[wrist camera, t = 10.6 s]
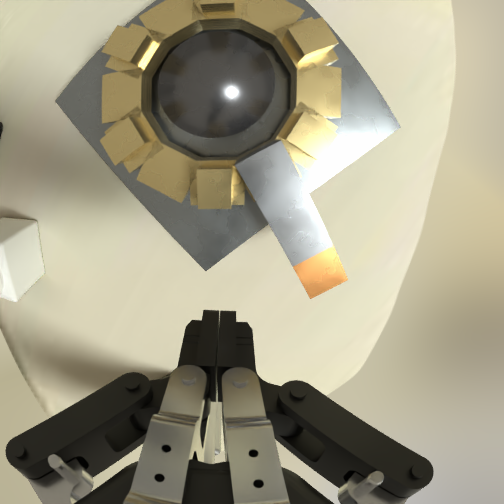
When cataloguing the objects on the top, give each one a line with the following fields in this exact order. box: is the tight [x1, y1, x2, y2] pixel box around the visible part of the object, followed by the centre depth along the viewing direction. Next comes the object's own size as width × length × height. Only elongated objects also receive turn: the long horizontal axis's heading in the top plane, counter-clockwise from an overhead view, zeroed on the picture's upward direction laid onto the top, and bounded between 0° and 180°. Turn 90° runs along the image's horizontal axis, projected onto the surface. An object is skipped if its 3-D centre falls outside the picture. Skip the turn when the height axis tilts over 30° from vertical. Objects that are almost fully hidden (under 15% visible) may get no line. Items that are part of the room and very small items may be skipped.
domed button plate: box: [56, 0, 400, 271], centre depth 18 cm, size 21×21×8 cm
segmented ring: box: [100, 0, 348, 299], centre depth 17 cm, size 16×24×4 cm
